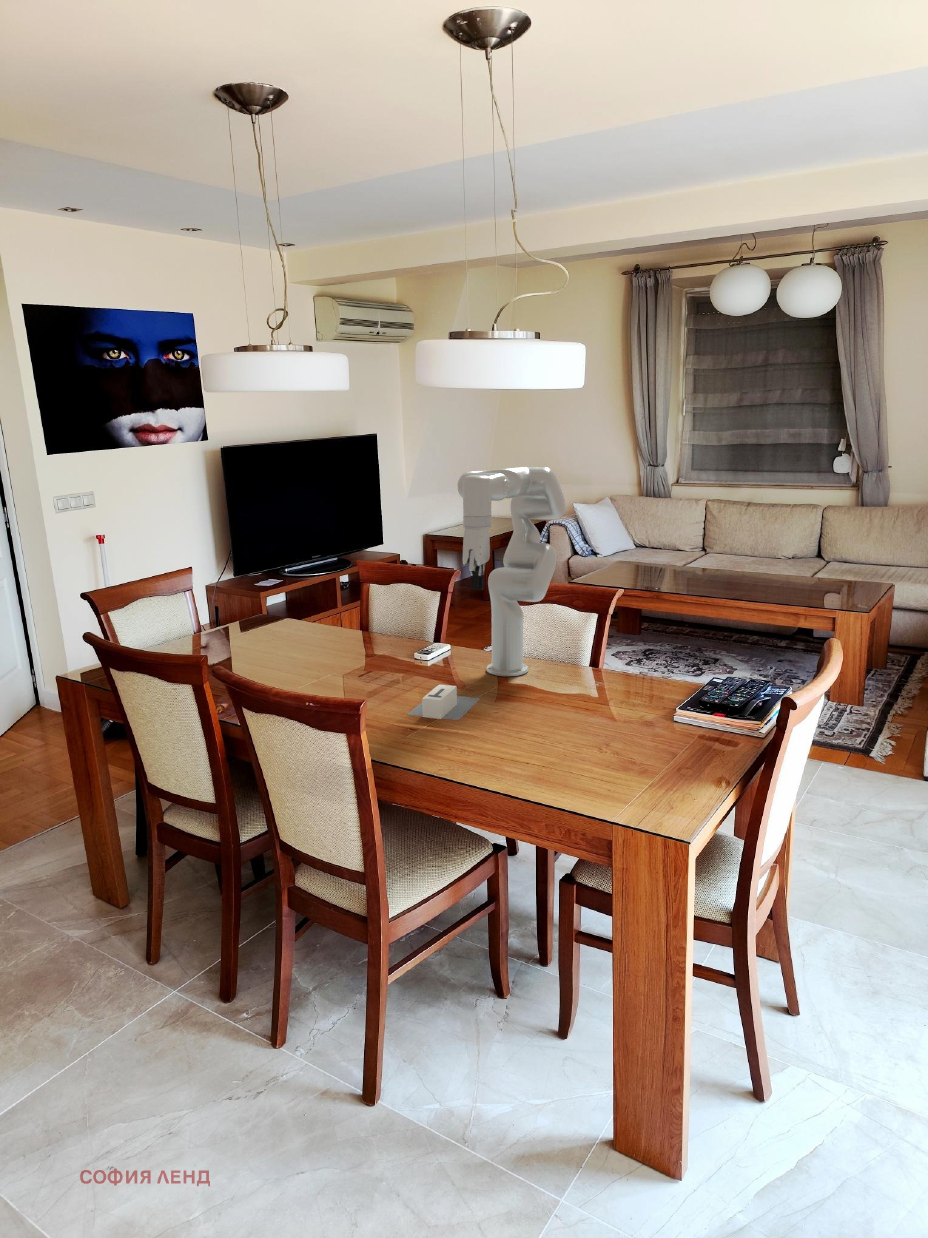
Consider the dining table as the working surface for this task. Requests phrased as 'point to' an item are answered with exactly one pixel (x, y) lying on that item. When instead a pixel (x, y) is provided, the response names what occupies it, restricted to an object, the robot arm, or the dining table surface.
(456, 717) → the mat
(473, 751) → the dining table surface
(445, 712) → the letter block
